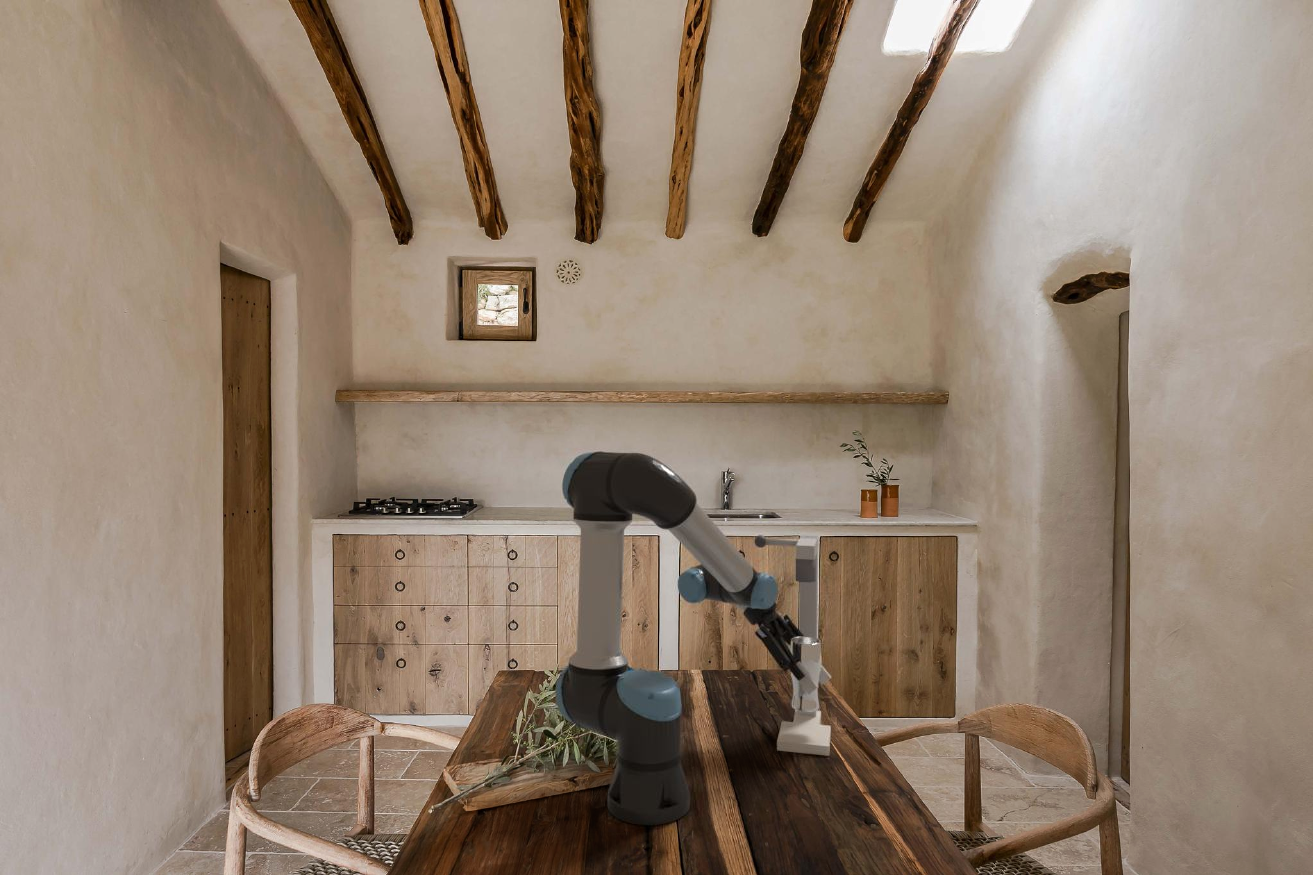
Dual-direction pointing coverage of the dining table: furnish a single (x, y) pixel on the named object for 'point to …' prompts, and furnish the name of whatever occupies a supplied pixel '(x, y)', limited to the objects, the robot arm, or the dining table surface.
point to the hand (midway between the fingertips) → (820, 685)
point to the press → (806, 725)
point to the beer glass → (811, 659)
